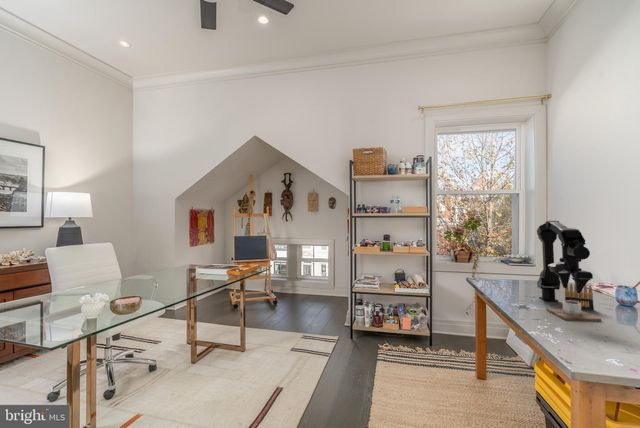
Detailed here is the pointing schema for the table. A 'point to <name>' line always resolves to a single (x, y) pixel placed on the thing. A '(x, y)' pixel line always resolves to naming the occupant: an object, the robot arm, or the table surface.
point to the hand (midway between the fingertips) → (571, 290)
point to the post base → (582, 317)
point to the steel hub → (572, 308)
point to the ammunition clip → (580, 297)
